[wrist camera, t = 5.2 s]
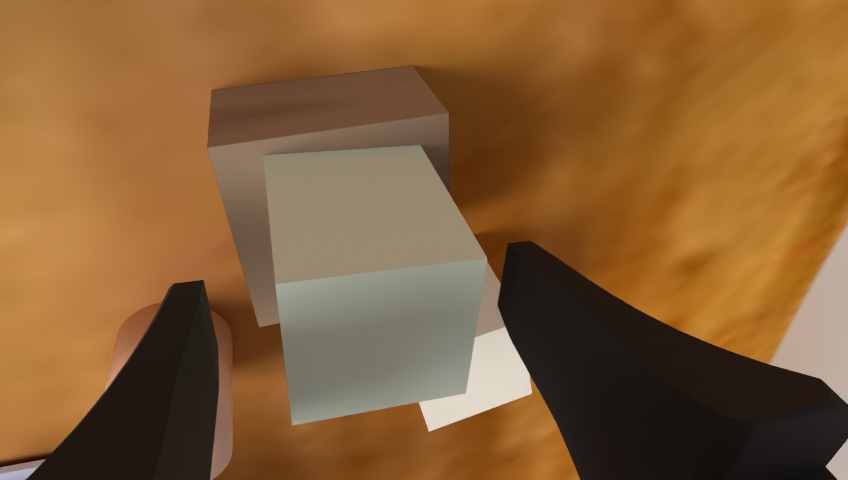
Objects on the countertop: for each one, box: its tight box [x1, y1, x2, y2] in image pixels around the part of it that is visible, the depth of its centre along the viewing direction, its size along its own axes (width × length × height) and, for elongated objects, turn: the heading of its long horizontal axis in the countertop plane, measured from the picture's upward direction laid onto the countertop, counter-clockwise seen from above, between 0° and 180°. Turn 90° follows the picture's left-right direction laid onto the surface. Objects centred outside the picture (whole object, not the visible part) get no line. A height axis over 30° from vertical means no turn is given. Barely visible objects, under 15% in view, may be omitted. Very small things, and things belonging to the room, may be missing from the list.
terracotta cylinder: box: [104, 303, 233, 480], centre depth 19 cm, size 4×4×5 cm
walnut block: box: [207, 65, 449, 327], centre depth 17 cm, size 6×6×4 cm
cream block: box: [419, 262, 532, 431], centre depth 21 cm, size 4×4×5 cm
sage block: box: [263, 145, 487, 426], centre depth 13 cm, size 4×4×5 cm
